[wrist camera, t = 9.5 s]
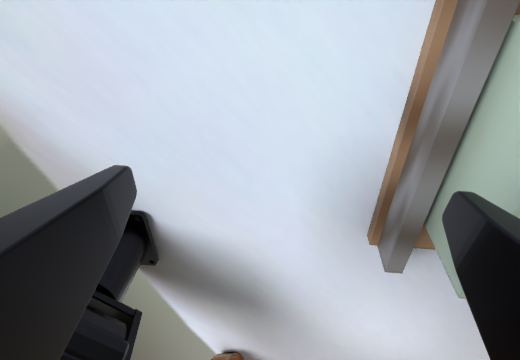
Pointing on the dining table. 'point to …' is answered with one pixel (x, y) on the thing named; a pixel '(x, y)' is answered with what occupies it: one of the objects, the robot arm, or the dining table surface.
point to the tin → (228, 357)
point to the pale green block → (486, 149)
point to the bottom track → (435, 119)
